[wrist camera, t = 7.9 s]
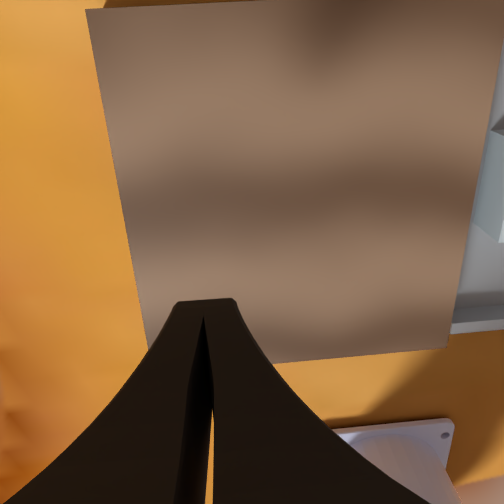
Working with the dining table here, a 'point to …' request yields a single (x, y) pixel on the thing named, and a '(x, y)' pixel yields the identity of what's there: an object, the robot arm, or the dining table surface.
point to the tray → (482, 253)
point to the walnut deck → (301, 161)
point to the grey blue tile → (492, 189)
